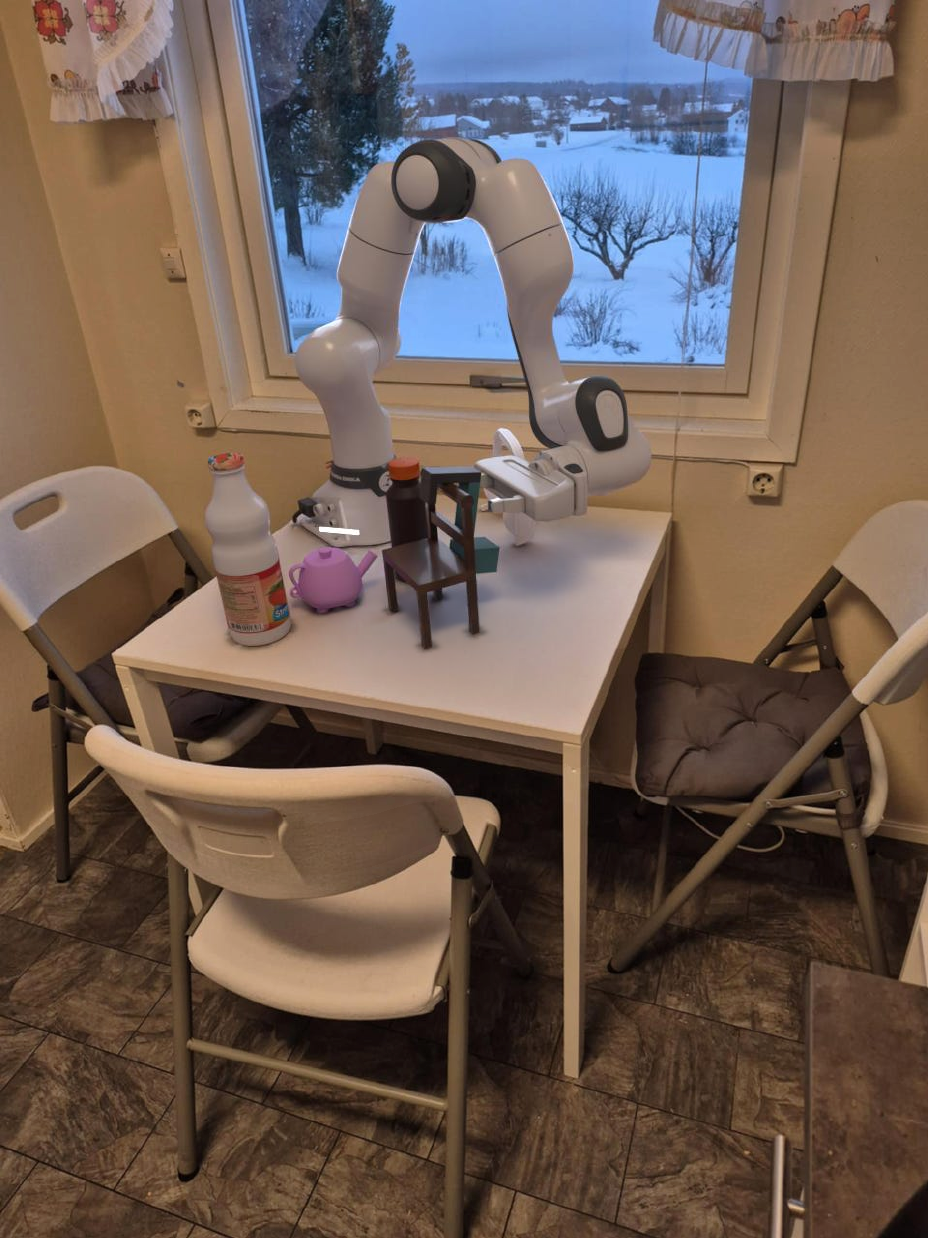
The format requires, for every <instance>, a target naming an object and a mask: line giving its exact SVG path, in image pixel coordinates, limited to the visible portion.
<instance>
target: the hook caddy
mask: <svg viewBox="0 0 928 1238" xmlns="http://www.w3.org/2000/svg"><path fill="white" fill-rule="evenodd" d="M421 470H422V474H421V476H420V483H421V485H420V496H419V498H420V499H422V500H423V501H424V502H426V503H427V504H435V505H436V504H437V495H438V489H437V487H438V484H444V483H454V484H458V487H460V488H461V489H463V490H464V491H465V492H467V493H468V494H470V495H471V496H473V498H474V504H473V506H472V514H473V531H474V532H475V531H476V521H477V515H478V506H479V496H480V489H481V488H480V481H481V472H480V471H478V470H477V469H475V468H474V466H472V465H469V466H467V465H465V466H464V465H463V466H462V465H461V466H423V467H421ZM454 525H455V526H457V527H458V528H459V529H460V530H462V514H461V506H460V505H459V504H457V503H456V507H455V516H454ZM462 531H463V530H462ZM449 548H450V549H451V550H452V551H454V552H455V553H456V554H457V555H458V556H460V557H461V558H462V559H463V560H464V547H462V546H461V545H460V544H459V543H457V542H456V541H455V540H454V539H452V538H450V539H449ZM474 548H475V565H476V575H478V574H489V573H490V574H491V573H497V571H498V565H499V564H498V563H499V557H500V546H499V545H497V544H496V543H494V542H493V541H491V540H490V539H489V538H488V537H486V536H476V537H475V536H474Z"/></svg>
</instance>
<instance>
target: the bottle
mask: <svg viewBox="0 0 928 1238" xmlns="http://www.w3.org/2000/svg"><path fill="white" fill-rule="evenodd" d="M388 467H389V476H390V480H391V481H392V485H391V486H390V488H389V489H388V490H387V492H386V502H387V511H388V520H389V529H390V537H391V541H390V546H391V547H395V546H399V545H403V544H407V543H411V542H415V541H418V540H422V539H426V538H428V528H427V517H426V506H425V502H424V501H423V500H422V499H420V498H419V496H420V485H421V481H419V479H421V476H420V472H421V469H420V461H419V459H418V458H415V457H412V456H411V457H409V456H406V457H405V456H403V457H396V459H393V460H391V461H390V462H389V463H388ZM394 576H395V579H398V580H399V581H401V582H404V583H407V582H406V581H405V580H404V579H403V578H402V577H401V576H400V575H399V574H398V573H397V572H396V571H395V570H394Z"/></svg>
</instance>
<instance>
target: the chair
mask: <svg viewBox="0 0 928 1238" xmlns="http://www.w3.org/2000/svg"><path fill="white" fill-rule="evenodd" d="M421 474H422V469H420V477H421ZM437 491H439V492H441V493H442V494H443V495H445V496H446V497H447V498H449V499H450V500H452V501H453V502H454V503H456V505H457V504H459V505H460V506H461V514H462V530H463V531H462V530H460V529H459V528H458V527H457V526H455V523H453V522H451V521H450V520H449V519H447V518H446V517H445V516H444V515H442V514H441V513H439V511H437V508H436V504H427V503H426V502H425V506H426V517H427V528H428V538H426V539H422V540H418V541H415V542H411V543H407V544H403V545H399V546H395V547H392V546H391V547H388V548H384V549H382V550H381V555H382V563H383V571H384V579H385V589H386V596H387V604H388V605H387V607H388V610H389V611H390V613H396V612H398V611H399V602H398V595H397V594H398V593H397V586H396V585H397V583H396V576H395V573H394V570H395V571H396V572H397V573H398V574H399V575H400V576H401V577H402V578H403V579H404V580H405V581H406V582H405V583H407V584H408V585H409V586H410V587H411V588H412V589H413V590H414V591H415V592H416V601H417V602H416V603H417V609H418V611H417V612H418V621H419V630H420V642H421V647H423V649H424V650H428V649H430V648H431V649H432V648H433V640H432V630H431V620H430V617H431V616H430V608H429V597H428V593H432V595H433V598H434V599H435V600H436V601H438V600H441V599H443V598H444V595H443V594H444V593H443V589H445V588H449V587H453V586H456V585H459V584H463V583H465V588H466V604H467V619H468V620H467V621H468V631H469V633H470V634H471V635H476V634H479V633H481V632H480V631H481V630H480V615H479V600H478V584H477V582H478V581H477V574H476V565H475V548H474V537H475V531H473V514H472V506H473V504H474V498H473V496H471V495H470V494H468V493H467V492H465V491H464V490H463V489H461V488H460V487H459V485H457V484H456V483H444V484H438V487H437ZM438 529H440V530H441V531H442V532H444V533H445V534H446V535H447V536H448V537H450V539H454V540H455V541H456V542H457V543H459V544H460V545H461V546H462V547H464V560H463V559H462V558H461V557H460V556H458V555H457V554H456V553H455V552H454V551H452V550H451V549H450V546H448V545H446V544H445V543H444V542H443V541H441V540H440V539H439V534H438Z"/></svg>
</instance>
